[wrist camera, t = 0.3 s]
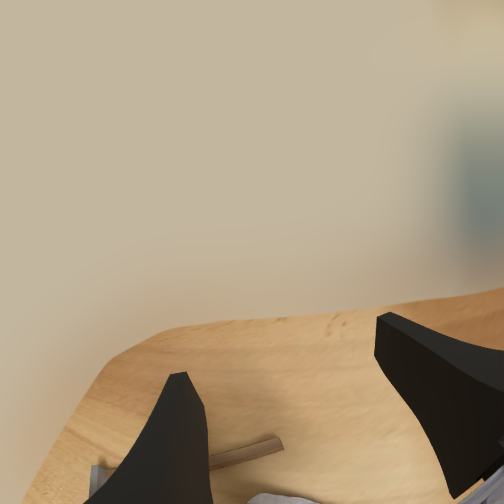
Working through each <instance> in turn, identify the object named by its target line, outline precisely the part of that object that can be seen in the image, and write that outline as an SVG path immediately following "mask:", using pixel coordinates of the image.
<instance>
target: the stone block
mask: <svg viewBox="0 0 504 504" xmlns="http://www.w3.org/2000/svg"><path fill="white" fill-rule="evenodd" d="M247 504H320V503H317V502H313V501H310V500H308V499H305V498H300V497H287V496H284V495H280V496H278V495H273V494H269V493H260V494H258V495H256V496H254V497H253V498H252V499H250V500H249V502H248V503H247Z"/></svg>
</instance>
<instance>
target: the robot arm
mask: <svg viewBox="0 0 504 504" xmlns="http://www.w3.org/2000/svg"><path fill="white" fill-rule="evenodd" d="M374 356H375V358H376V360H377V362H378V364H379V366H380V367H381V369H382V371H383V373H384V374H385V376H386V377H387V378H388V380H389V381H390V382H391V384H392V385H393V386H394V388H395V389H396V390H397V392H398V393H399V394H400V396H401V397H402V398H403V400H404V401H405V402H406V404H407V405H408V406H409V407H410V409H411V410H412V411H413V413H414V414H415V416H416V417H417V419H418V420H419V422H420V424H421V426H422V428H423V429H424V431H425V433H426V435H427V437H428V439H429V441H430V443H431V445H432V447H433V449H434V451H435V453H436V456H437V458H438V461H439V463H440V465H441V468H442V471H443V473H444V476H445V479H446V482H447V486H448V489H449V493H450V494H451V496H452V498H453V499H456V498H457V497H459V496H460V495H461V494H463V493H464V492H465V491H466V490H468V489H469V488H470V487H472V486H473V485H474V484H475V483H476V482H478V481H479V480H480V479H481V478H483V480H484V481H485V482H484V483H483V484H481V485H480V486H479V487H478V488H477V489H475V490H474V491H473V492H472V493H470V494H469V495H468V496H467V497H465V498H464V499H463V500H461V501H460V502H459V503H457V504H504V351H502V350H495V349H490V348H485V347H481V346H477V345H473V344H469V343H466V342H463V341H460V340H457V339H454V338H451V337H448V336H446V335H443V334H441V333H438V332H436V331H433V330H431V329H429V328H426V327H424V326H422V325H420V324H417V323H415V322H413V321H411V320H408V319H406V318H404V317H402V316H399V315H397V314H394V313H392V312H388V313H385V314H383V315H380V316H378V317H377V323H376V338H375V350H374ZM83 504H213V499H212V494H211V489H210V479H209V457H208V429H207V422H206V416H205V409H204V405H203V403H202V401H201V399H200V397H199V396H198V394H197V392H196V390H195V388H194V386H193V384H192V382H191V380H190V378H189V376H188V374H187V372H181V373H175V374H170V376H169V377H168V379H167V382H166V384H165V386H164V388H163V390H162V392H161V395H160V397H159V399H158V401H157V403H156V405H155V407H154V409H153V411H152V413H151V415H150V417H149V419H148V421H147V423H146V425H145V426H144V428H143V430H142V432H141V433H140V435H139V437H138V439H137V440H136V442H135V444H134V445H133V447H132V448H131V450H130V451H129V453H128V454H127V456H126V457H125V458H124V460H123V461H122V463H121V464H120V465H119V467H118V468H117V469H116V470H115V471H114V473H113V474H112V475H111V476H110V477H109V479H108V480H107V481H106V482H105V483H104V484H103V485H102V486H101V487H100V488H99V489H98V490H97V491H96V492H95V493H94V494H93V495H92V496H91V497H90V498H89V499H88V500H87V501H86V502H84V503H83Z"/></svg>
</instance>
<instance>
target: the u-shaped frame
mask: <svg viewBox="0 0 504 504" xmlns="http://www.w3.org/2000/svg"><path fill="white" fill-rule="evenodd" d="M281 450H284V448H283V445H282V442H281V440H280V438H279V437H276V438H273V439H270V440H267V441H264V442H261V443H258V444H254V445H251V446H248V447H244V448H241V449H237V450H233V451H229V452H225V453H221V454H217V455H213V456H209V470H212V469H217V468H221V467H225V466H230V465H234V464H238V463H241V462H245V461H249V460H252V459H256V458H259V457H262V456H266V455H269V454H272V453H275V452H278V451H281ZM115 470H116V469H107V470H105V469H103V468H102V467H100V466H99V465H92V467H91V477H90V489H89V498H90V497H91V496H92V495H93V494H94V493H95V492H96V491H97V490H98V489H99V488H100V487H101V486H102V485H103V484H104V483H105V482H106V481H107V480H108V479H109V477H110V476H111V475H112V474H113V473H114V471H115Z"/></svg>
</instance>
